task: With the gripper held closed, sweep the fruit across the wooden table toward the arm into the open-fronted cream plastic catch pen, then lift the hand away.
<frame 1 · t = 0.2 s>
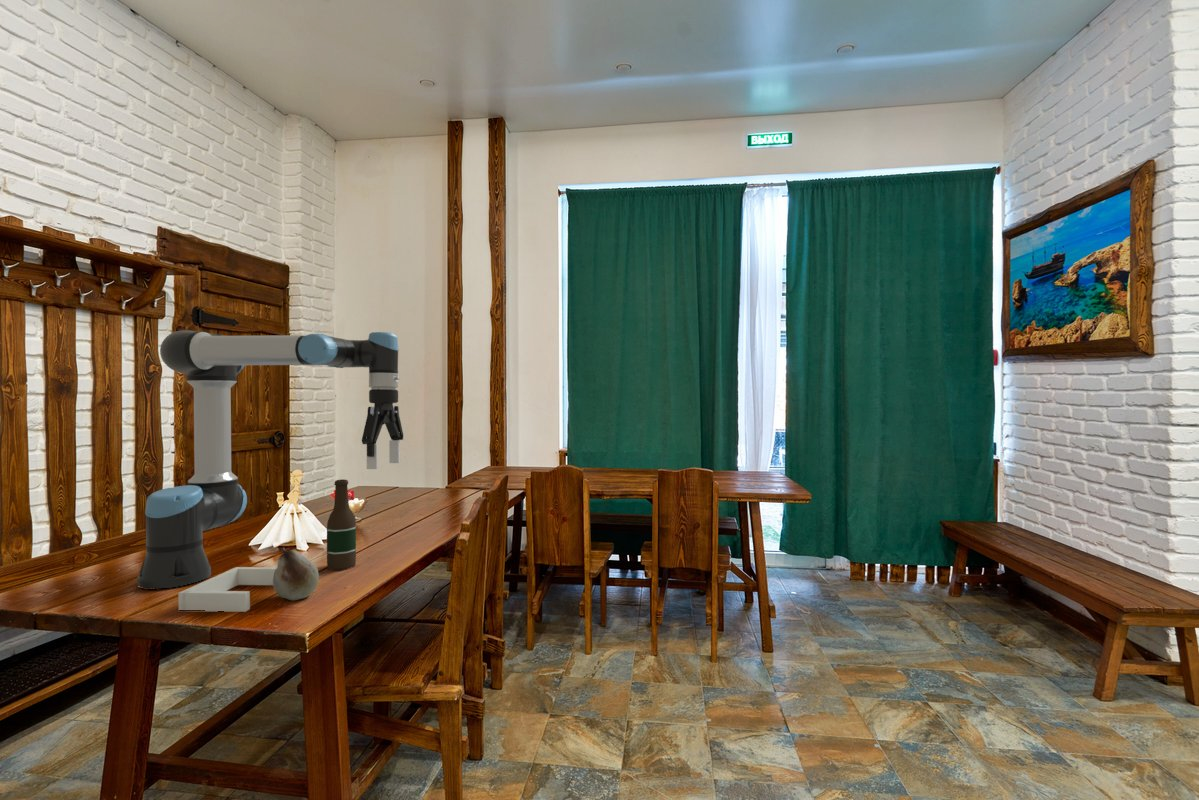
hand: (383, 466, 157), 28 cm above the table, tool pointing down, fingers open, 13 cm apart
fruit: (296, 597, 134), on the table
beer bottle: (341, 567, 158), on the table
catch pen: (242, 596, 135), on the table
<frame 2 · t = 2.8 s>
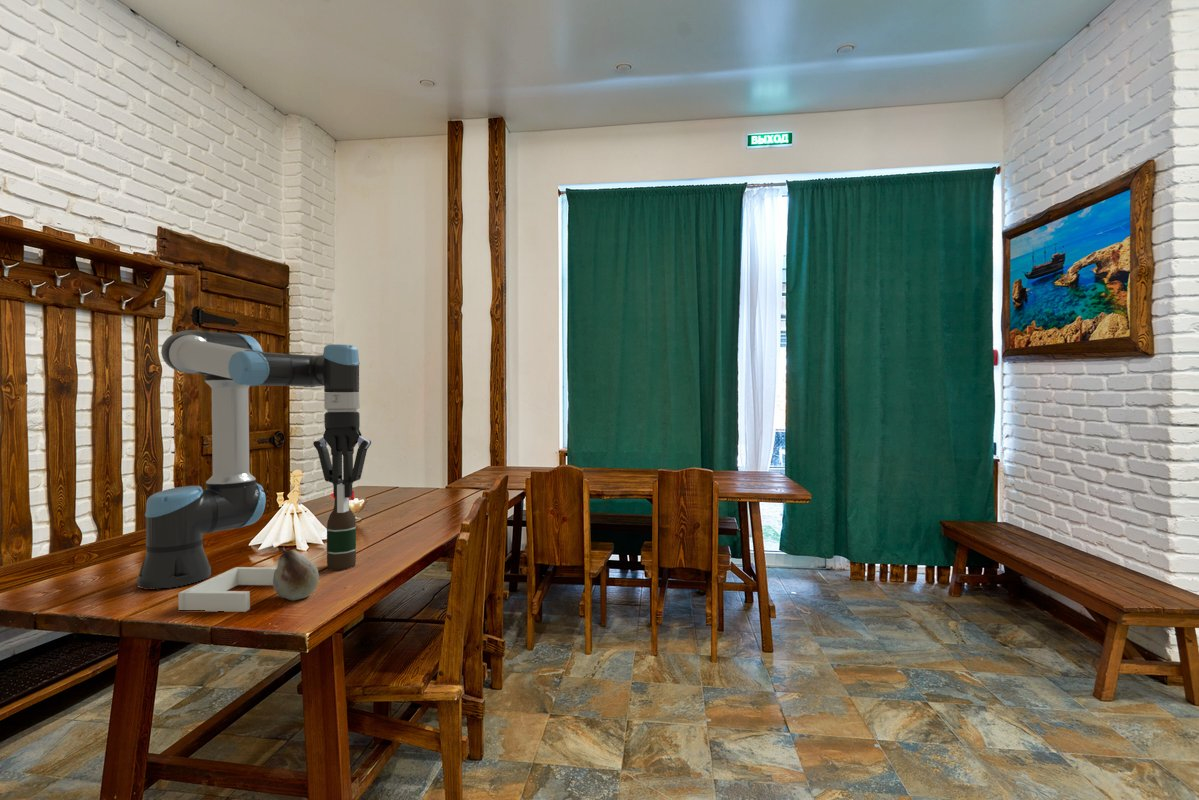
hand: (343, 511, 134), 20 cm above the table, tool pointing down, fingers closed
nothing on the table moved.
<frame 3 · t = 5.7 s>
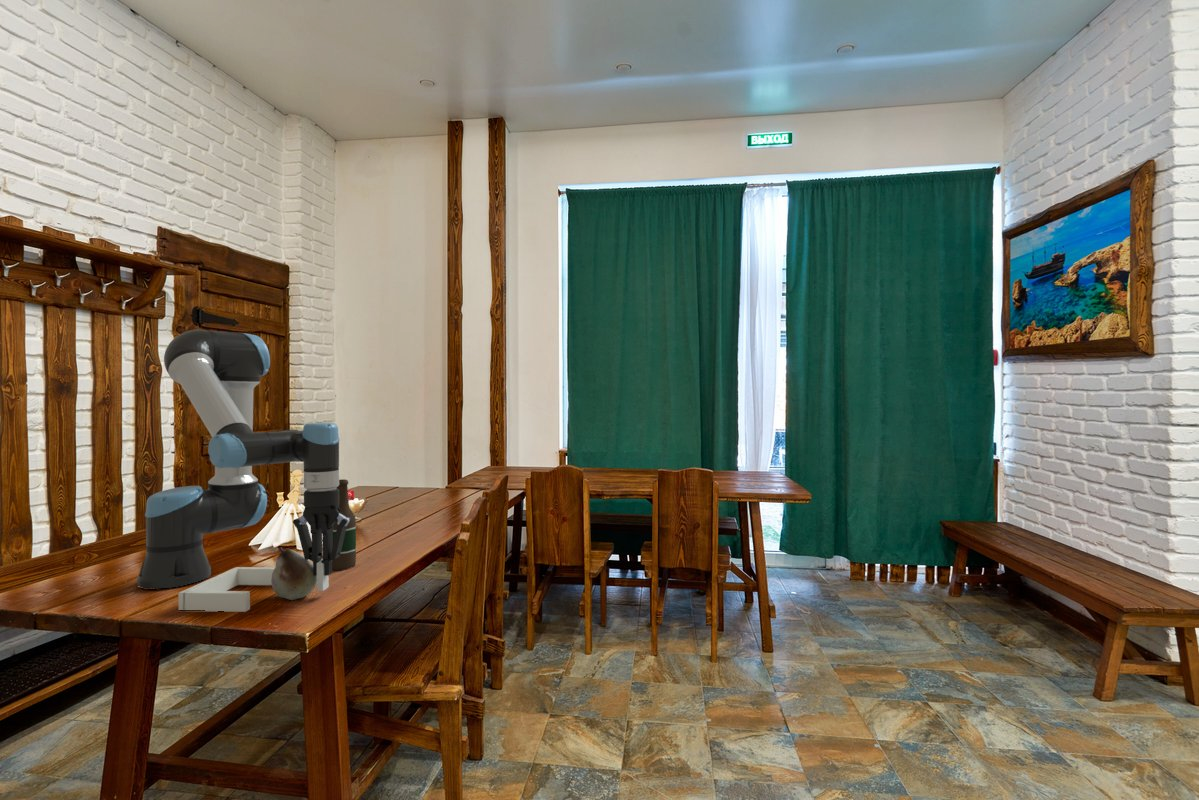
hand: (322, 588, 134), 2 cm above the table, tool pointing down, fingers closed
fruit: (295, 597, 134), on the table, touching gripper
everything else where it was.
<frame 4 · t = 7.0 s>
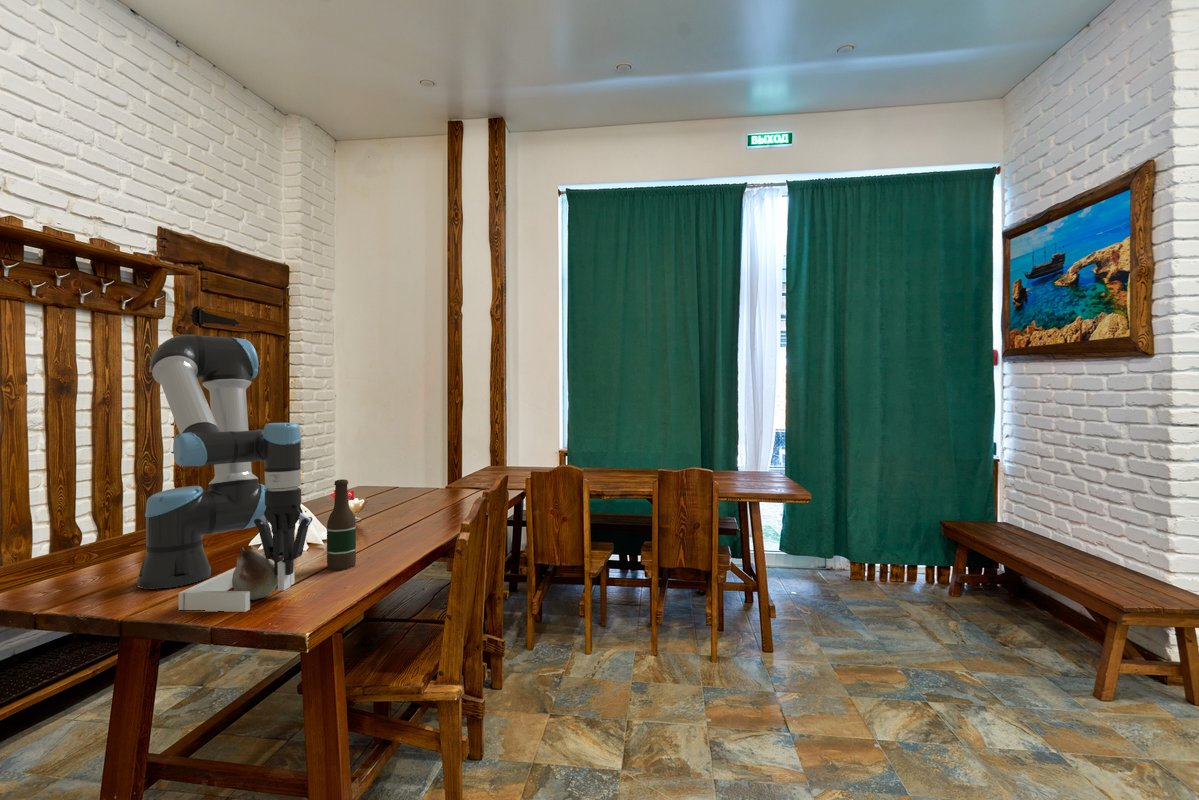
hand: (284, 588, 134), 2 cm above the table, tool pointing down, fingers closed
fruit: (256, 597, 134), on the table, touching gripper
everything else where it was.
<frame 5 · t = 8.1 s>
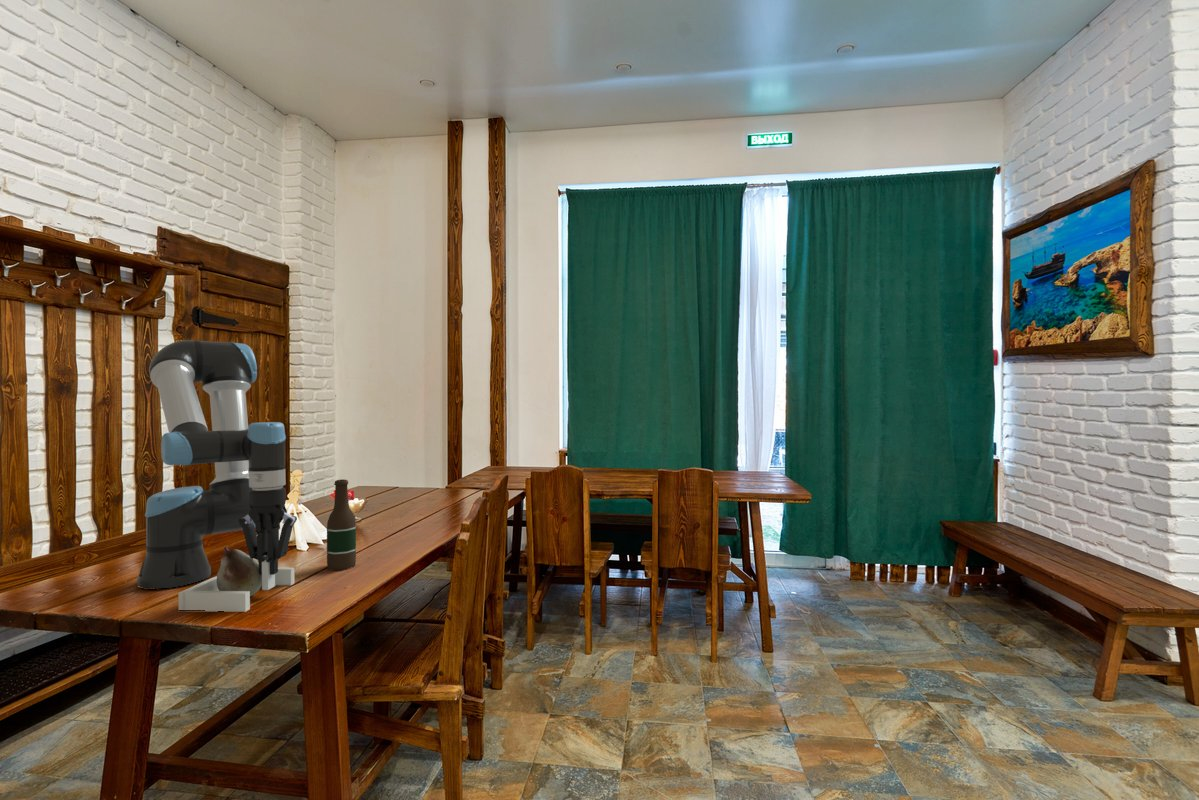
hand: (268, 587, 134), 2 cm above the table, tool pointing down, fingers closed
fruit: (241, 597, 134), on the table, touching gripper
everything else where it was.
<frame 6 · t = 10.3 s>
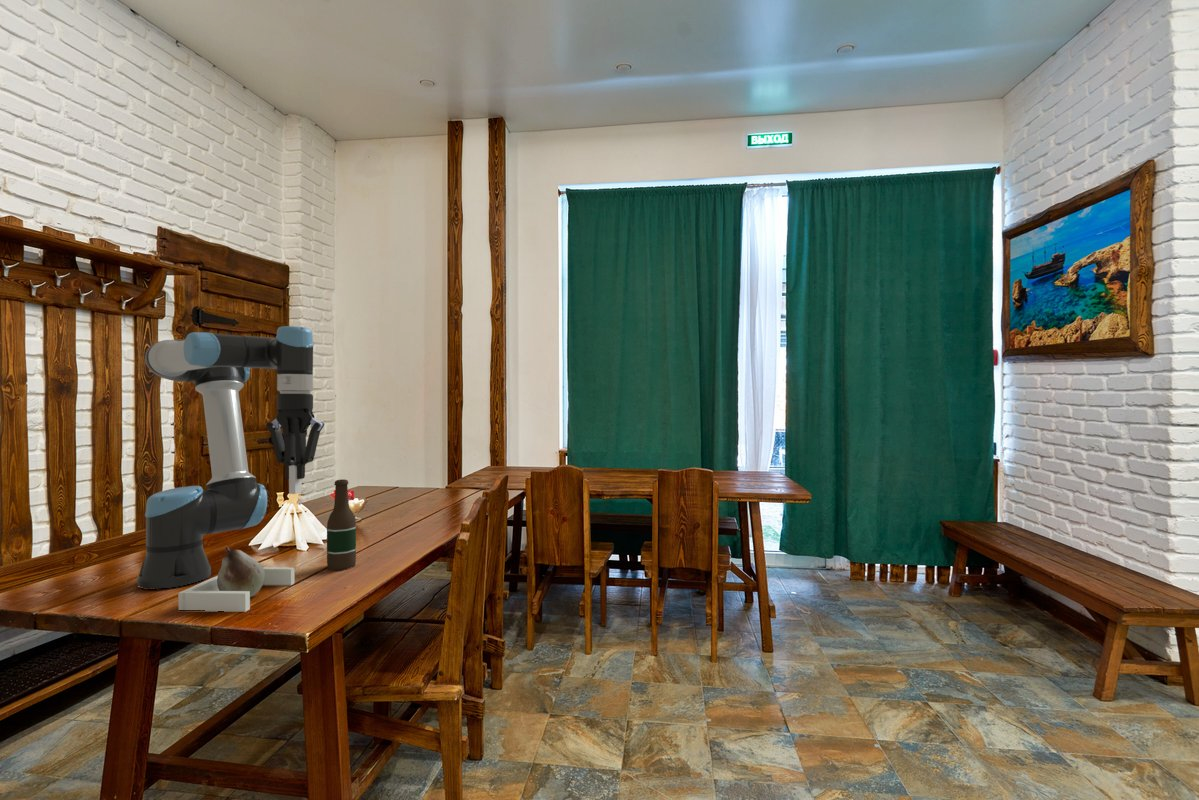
hand: (295, 492, 135), 24 cm above the table, tool pointing down, fingers closed
fruit: (241, 597, 134), on the table
everything else where it was.
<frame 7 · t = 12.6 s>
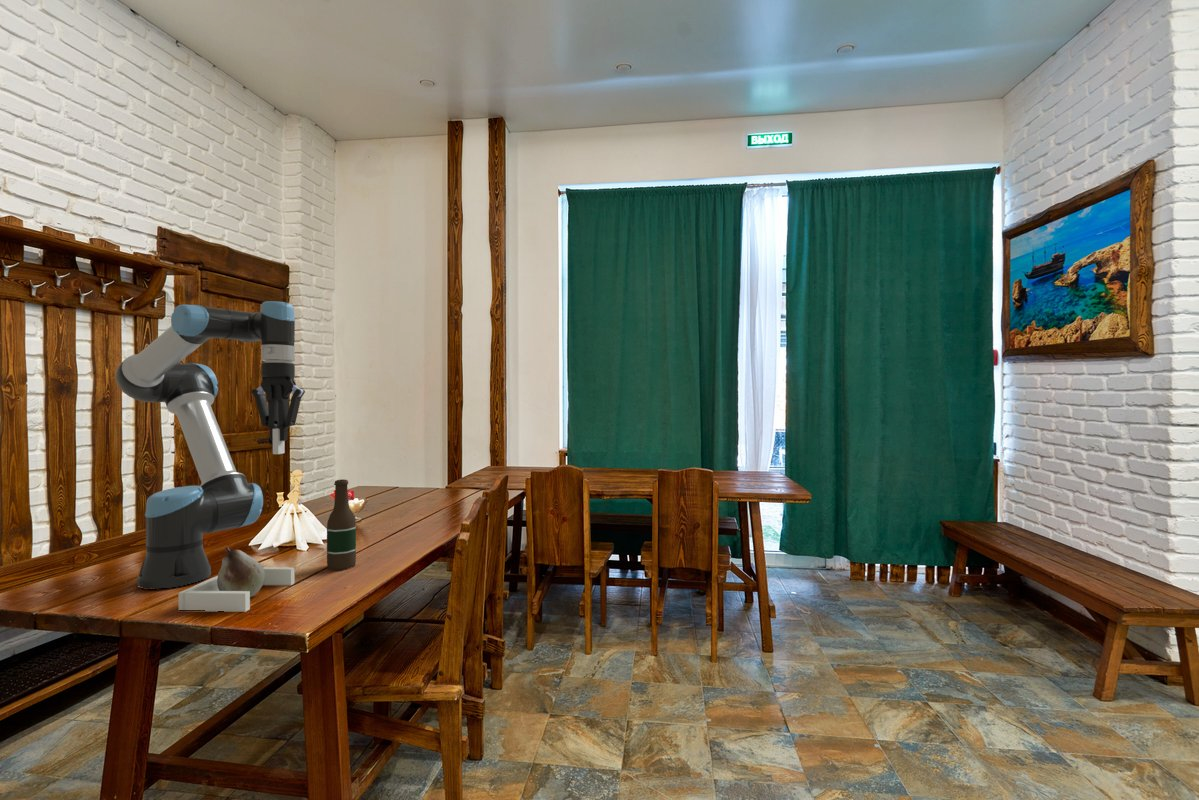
hand: (278, 453, 147), 32 cm above the table, tool pointing down, fingers closed
nothing on the table moved.
at the end: fruit inside the target area on the catch pen (0.5 cm from its centre), point 0.0 cm above the catch pen's base; fruit moved 13.1 cm from its start; the gripper is holding nothing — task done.
